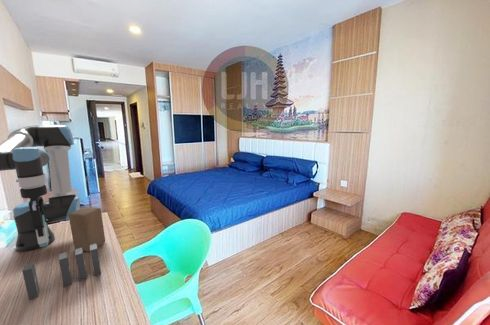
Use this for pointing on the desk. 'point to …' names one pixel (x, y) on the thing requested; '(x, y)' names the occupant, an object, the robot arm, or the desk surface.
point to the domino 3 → (65, 269)
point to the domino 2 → (46, 233)
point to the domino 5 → (95, 259)
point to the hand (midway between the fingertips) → (43, 239)
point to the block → (87, 228)
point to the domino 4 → (80, 264)
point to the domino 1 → (31, 280)
